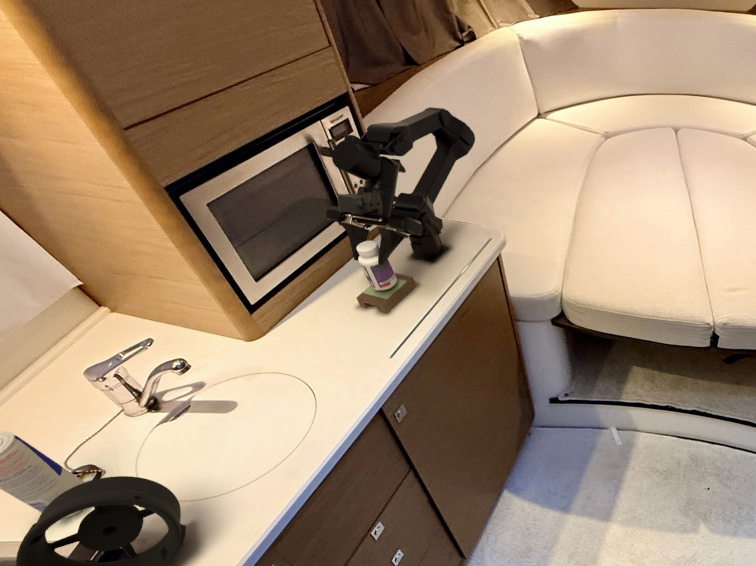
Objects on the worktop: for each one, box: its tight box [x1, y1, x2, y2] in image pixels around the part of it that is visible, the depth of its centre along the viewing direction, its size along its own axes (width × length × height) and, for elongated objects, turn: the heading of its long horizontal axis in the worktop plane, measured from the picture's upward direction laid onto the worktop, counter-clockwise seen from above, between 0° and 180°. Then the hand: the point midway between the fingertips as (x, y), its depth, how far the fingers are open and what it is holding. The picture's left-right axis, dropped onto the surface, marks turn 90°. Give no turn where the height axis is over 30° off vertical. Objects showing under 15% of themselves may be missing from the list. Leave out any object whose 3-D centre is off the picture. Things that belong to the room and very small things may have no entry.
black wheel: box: [15, 475, 187, 566], centre depth 68 cm, size 14×14×10 cm
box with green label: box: [355, 272, 417, 314], centre depth 112 cm, size 10×7×3 cm
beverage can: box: [0, 431, 86, 519], centre depth 73 cm, size 6×6×15 cm
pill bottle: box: [357, 240, 397, 290], centre depth 108 cm, size 5×5×10 cm
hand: (368, 262), depth 105 cm, fingers closed on pill bottle, 5 cm apart
